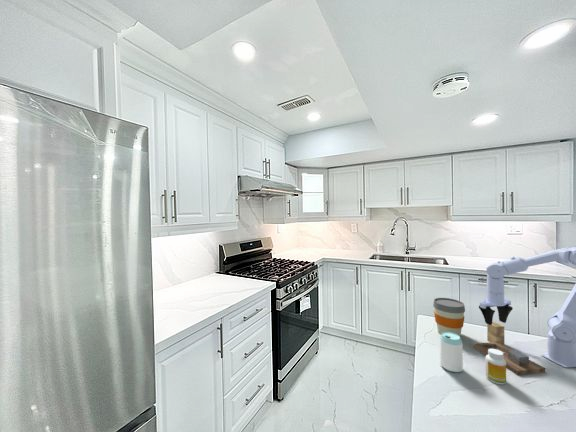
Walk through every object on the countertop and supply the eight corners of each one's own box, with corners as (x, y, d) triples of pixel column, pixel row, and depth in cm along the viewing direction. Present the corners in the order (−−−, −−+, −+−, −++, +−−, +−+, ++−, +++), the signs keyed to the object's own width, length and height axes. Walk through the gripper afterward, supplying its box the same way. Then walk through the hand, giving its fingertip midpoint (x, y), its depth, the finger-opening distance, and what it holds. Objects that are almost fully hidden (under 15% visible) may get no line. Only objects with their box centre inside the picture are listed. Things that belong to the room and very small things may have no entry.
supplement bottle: (510, 386, 81) (510, 356, 81) (491, 384, 82) (491, 355, 82) (499, 375, 86) (499, 348, 86) (482, 373, 87) (482, 346, 87)
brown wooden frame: (497, 345, 105) (497, 341, 105) (545, 372, 87) (545, 368, 87) (473, 347, 104) (473, 343, 104) (517, 375, 86) (517, 370, 86)
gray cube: (517, 362, 93) (517, 350, 93) (528, 368, 89) (528, 356, 89) (508, 363, 93) (508, 351, 93) (519, 369, 89) (519, 357, 89)
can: (463, 376, 86) (462, 342, 86) (439, 369, 90) (439, 337, 90) (462, 365, 92) (461, 333, 92) (440, 359, 96) (439, 329, 96)
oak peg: (495, 339, 109) (495, 322, 109) (504, 344, 105) (504, 326, 105) (487, 340, 109) (487, 322, 109) (496, 345, 105) (495, 326, 105)
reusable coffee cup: (468, 333, 115) (467, 301, 115) (461, 343, 107) (461, 309, 107) (437, 325, 124) (437, 295, 124) (429, 333, 116) (429, 302, 116)
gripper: (498, 287, 111) (498, 317, 111) (472, 290, 107) (473, 320, 108) (516, 292, 104) (516, 324, 104) (489, 295, 100) (489, 328, 101)
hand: (495, 322), depth 105 cm, fingers open, 7 cm apart
